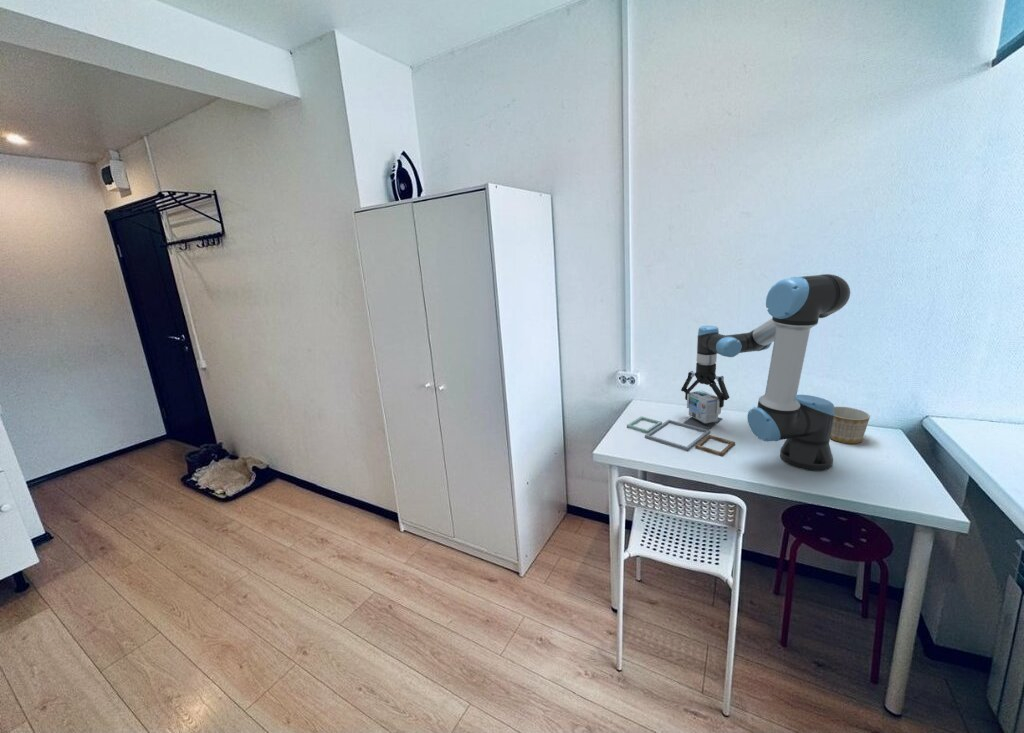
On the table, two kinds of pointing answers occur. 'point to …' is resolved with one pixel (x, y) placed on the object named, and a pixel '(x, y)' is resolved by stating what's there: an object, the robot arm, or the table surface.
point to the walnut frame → (723, 452)
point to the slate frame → (649, 436)
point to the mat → (701, 423)
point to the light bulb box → (703, 406)
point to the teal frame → (657, 423)
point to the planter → (849, 425)
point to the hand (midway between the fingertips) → (703, 410)
